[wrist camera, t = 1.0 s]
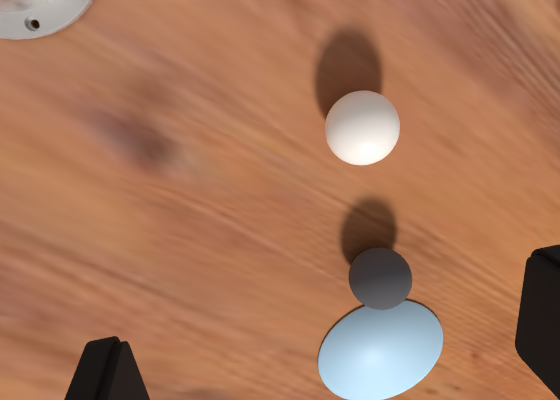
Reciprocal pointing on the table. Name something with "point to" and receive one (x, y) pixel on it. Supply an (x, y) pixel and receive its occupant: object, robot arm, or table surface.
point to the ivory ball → (362, 127)
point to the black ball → (380, 278)
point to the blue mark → (380, 351)
